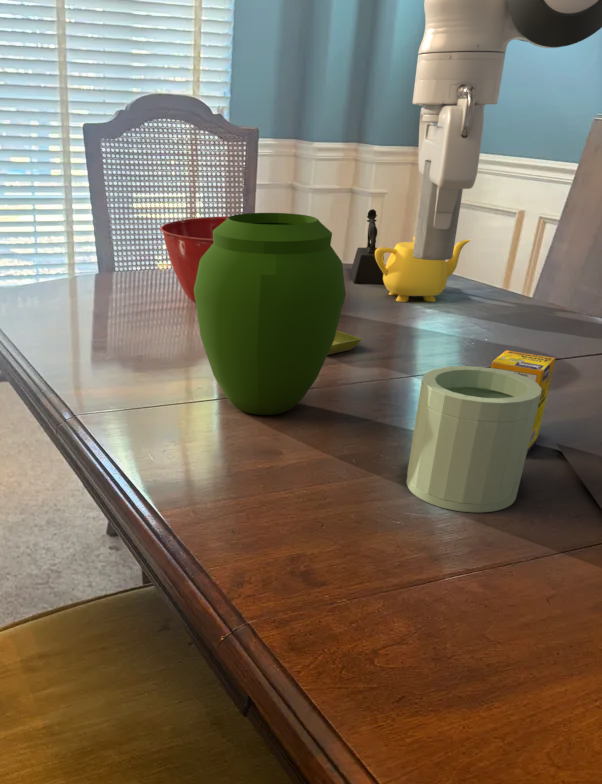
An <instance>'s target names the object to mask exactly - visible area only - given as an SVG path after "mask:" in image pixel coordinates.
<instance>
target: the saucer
mask: <svg viewBox="0 0 602 784" xmlns="http://www.w3.org/2000/svg"><path fill="white" fill-rule="evenodd" d="M361 341H362V337H358V336H356V335H352V334H349V333H347V332H343V331H339V330H338V329H337V330H336V334H335V338H334V342H333V344H332V346H331V348H330V350H329V353H328V355H327V356H329V355H332V354H333V355H334V354H338V353H342V352H346V351H350V350H352V349H353V348H355V347H356V346H357V345H358V344H359V343H360V342H361Z"/></svg>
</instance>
